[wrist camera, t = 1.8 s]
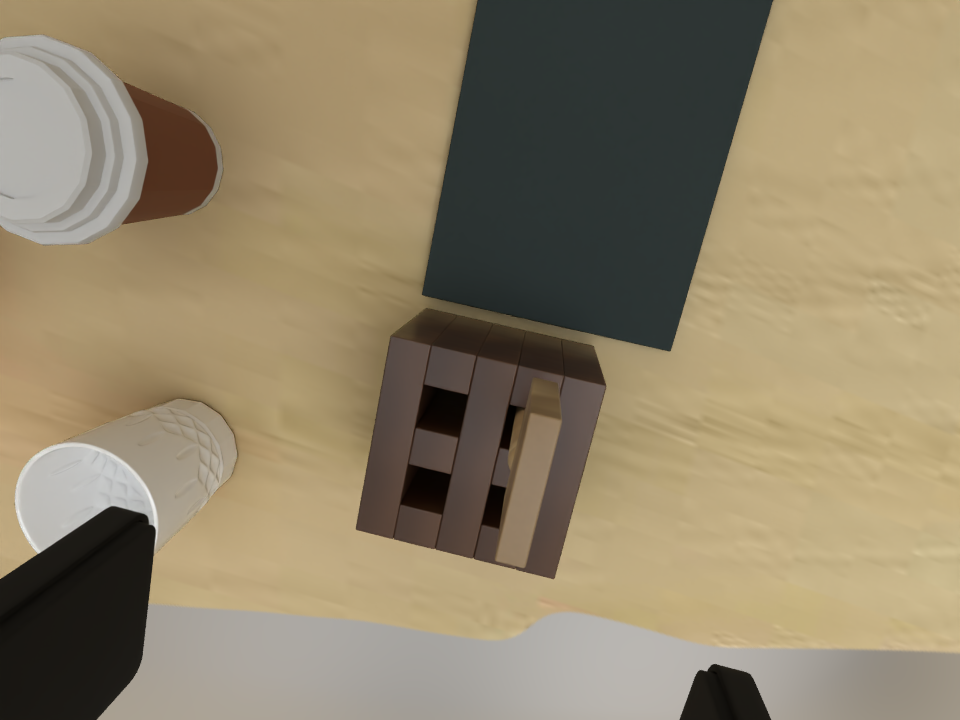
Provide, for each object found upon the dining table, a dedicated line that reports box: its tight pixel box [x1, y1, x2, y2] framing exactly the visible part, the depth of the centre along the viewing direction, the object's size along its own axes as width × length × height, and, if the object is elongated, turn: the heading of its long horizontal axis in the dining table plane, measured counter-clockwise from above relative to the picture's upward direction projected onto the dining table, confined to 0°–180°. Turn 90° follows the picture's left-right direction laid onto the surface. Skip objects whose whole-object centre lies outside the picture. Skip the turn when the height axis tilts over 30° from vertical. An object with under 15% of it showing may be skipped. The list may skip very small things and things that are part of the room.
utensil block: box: [356, 308, 606, 579], centre depth 36 cm, size 10×10×9 cm
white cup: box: [15, 398, 237, 555], centre depth 38 cm, size 8×8×10 cm
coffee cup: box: [0, 34, 223, 245], centre depth 33 cm, size 9×9×12 cm
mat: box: [422, 0, 773, 351], centre depth 35 cm, size 15×24×1 cm, turn 168°
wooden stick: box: [495, 377, 562, 568], centre depth 30 cm, size 1×5×20 cm, turn 168°
